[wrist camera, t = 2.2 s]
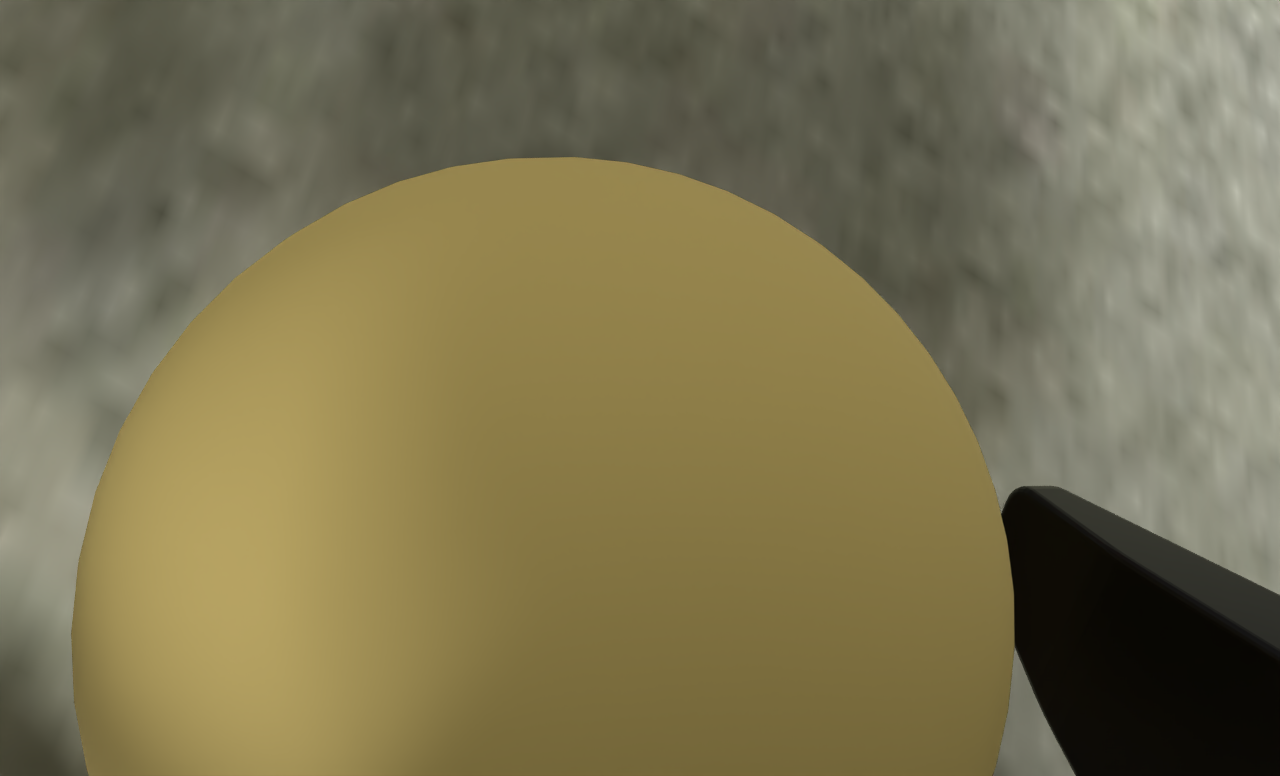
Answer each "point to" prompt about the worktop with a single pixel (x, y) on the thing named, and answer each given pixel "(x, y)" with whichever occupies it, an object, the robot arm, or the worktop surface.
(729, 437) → the ball
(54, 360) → the worktop surface
